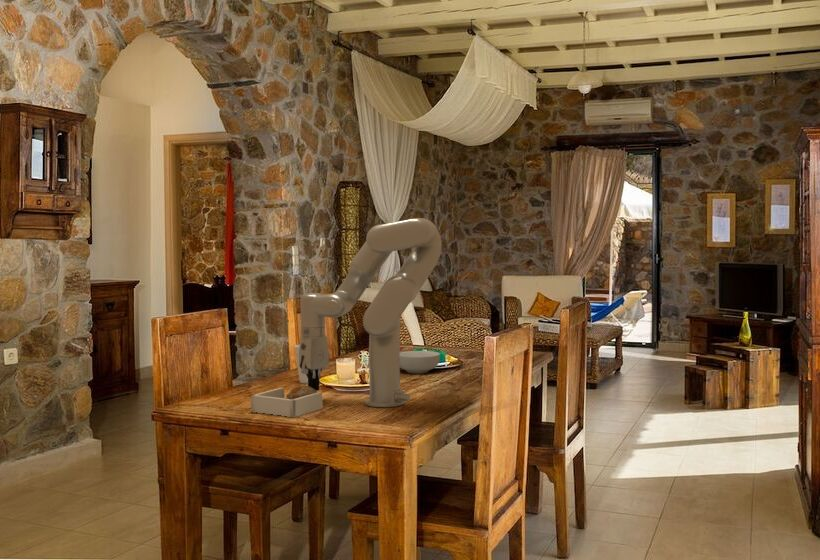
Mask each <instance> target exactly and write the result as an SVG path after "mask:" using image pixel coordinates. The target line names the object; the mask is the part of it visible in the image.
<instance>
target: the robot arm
mask: <svg viewBox="0 0 820 560" xmlns="http://www.w3.org/2000/svg"><path fill="white" fill-rule="evenodd" d="M365 239H366V241H365V242H364V243H363V245H362V246H361V248H360V249H359V250H358V251H357V253H356V254H355V256H354V257H353V258H352V259H351V261H350V264H349V269H348V272H347V275H346V277H345V278H344V280H343V281H342V282H341V284H340V285H339V286H338V288H337V289H336V290H335V292H333V293H329V294H322V293H318V292H310V293H309V292H307V293H303V294H302V295H301V296H300V341H299V345H300V347H299V367H300V368H301V373H302V374H306V376H307V378H308V383H307V386H310V387H312V388H314V389H315V390H316V391H317V392H318V391H320V378H321V373H322V372H323V371H324V370H325V369H326V367H328V366H330V352H329V344H328V339H327V336H326V318H331V319H336V318H339V317H342V316H343V315H346V314H348V313H349V312H350V311H351V310H352V309H353V308H354V306H355V305H356V303H357V302H358V301H359V300H360V298H361V296H362V295H363V294H364V293H365V291H366V290H367V288H368V286H369V285H370V284H371V282H372V281H373V279H374V277H375V276H376V275H377V273H378V272H379V270H380V269H381V268H382V266H383V265H384V263H385V262H386V261H387V260H388V258H389V257H390V256H391V255H392V253H393V252H395V251H401V250H406V249H411V248H413V249H412V251H411V253H409V255H408V257H407V258H406V260H405V261H404V263H403V264H402V265H401V267H400V269H399V270H398V272H397V273H396V274H395V275H393V276H391V277H390V278H388V279H387V280H386V281H385V282H384V284H383V285H382V287H380V289H379V290H378V293H377V294H376V295H375V297H373V299H372V301H371V302H370V304H369V306H368V308H367V309H366V310H365V311H364V314H363V318H362V324H363V325H362V326H363V328H364V330H365V332H366V333H368V334H369V336H368V337H369V338H368V341H369V342H368V361H369V364H368V368H369V369H368V370H369V371H368V372H369V373H368V375H369V376H368V377H369V378H368V379H369V383H368V384H369V397H367V398H365V399H364V404H365V405H366V406H369V407H374V408H394V407H400V406H404V405H405V403H406V402H408V401H410V399H411V394H410V393H404V389H403V388H401V377H400V376H401V371H400V369H401V368H400V352H401V349H400V348H401V347H400V346H401V345H400V344H401V342H400V341H401V340H400V339H401V325H402V322H401V319H402V318H401V316H402V315H403V313H404V312H405V311H406V310H407V307H408V306H409V304H411V303H412V302H413V301H414V300H415V299H416V297H417V295H418V293H419V292H420V290H421V289H422V287H423V286H424V284H425V282H426V281H427V280H428V278H429V276H430V274H431V273H432V271H434V270H433V269H434V268H435V266H436V265H437V264H438V261H439V259H440V257H441V253H442V244H443V243H442V238H441V235H440V232H439V230H438V228H437V226H436V225H435V224H434V223H433V222H432V221H431V220H430V219H428V218H424V217H423V218H421V217H415V218H409V219H405V220H400V221H395V222H390V223H383V224H382V223H381V224H377V225H374V226H372V227H371V228H370V229H369V230H368V232H367V234H366V238H365Z"/></svg>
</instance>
